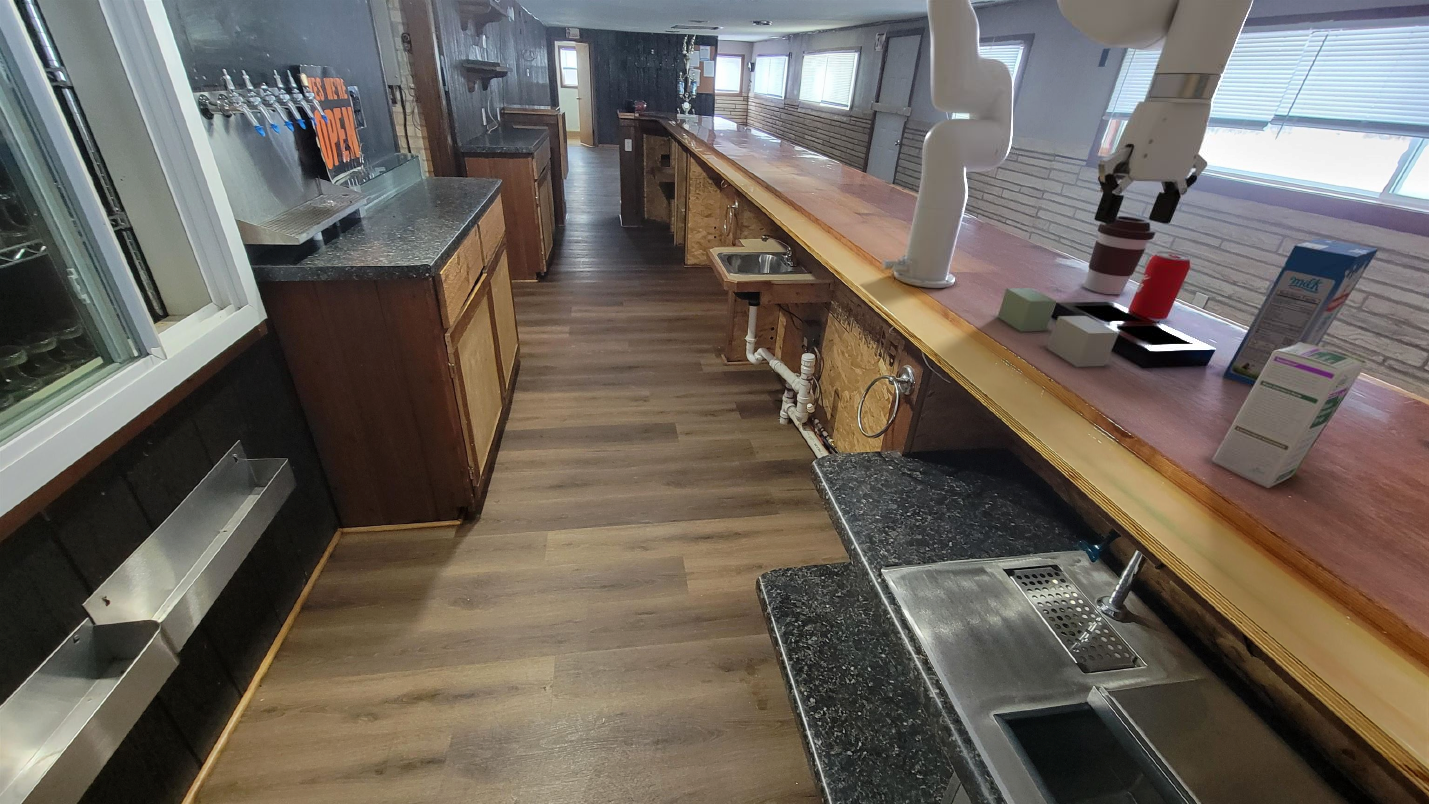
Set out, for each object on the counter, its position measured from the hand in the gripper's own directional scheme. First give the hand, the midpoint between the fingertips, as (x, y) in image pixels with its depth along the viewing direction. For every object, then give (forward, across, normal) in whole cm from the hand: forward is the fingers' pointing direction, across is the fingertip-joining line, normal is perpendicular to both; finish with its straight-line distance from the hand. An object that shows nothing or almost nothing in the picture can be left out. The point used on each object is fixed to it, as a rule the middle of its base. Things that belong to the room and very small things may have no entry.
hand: (1131, 222), depth 84 cm
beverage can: (+20, -24, -12) cm, 34 cm away
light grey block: (+20, +4, +3) cm, 21 cm away
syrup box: (+21, +6, +33) cm, 40 cm away
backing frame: (+20, -10, -2) cm, 23 cm away
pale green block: (+20, +4, -11) cm, 23 cm away
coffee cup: (+20, -29, -28) cm, 45 cm away
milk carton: (+21, -20, +13) cm, 32 cm away
